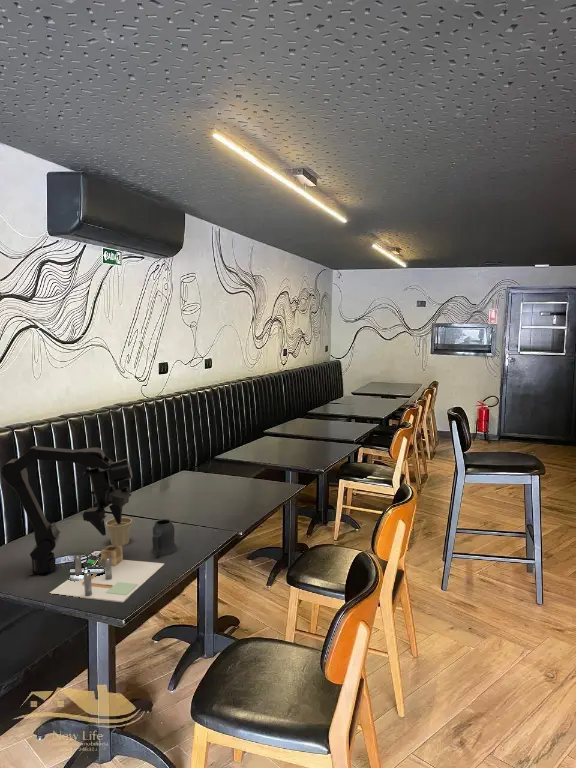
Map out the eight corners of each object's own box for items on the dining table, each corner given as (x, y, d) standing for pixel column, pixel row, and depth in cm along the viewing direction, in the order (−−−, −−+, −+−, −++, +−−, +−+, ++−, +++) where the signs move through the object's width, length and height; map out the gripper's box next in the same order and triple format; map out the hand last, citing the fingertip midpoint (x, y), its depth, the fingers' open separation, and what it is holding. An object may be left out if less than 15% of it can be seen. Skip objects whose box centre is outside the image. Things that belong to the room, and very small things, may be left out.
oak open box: (101, 565, 186) (100, 550, 186) (109, 559, 191) (109, 545, 191) (114, 566, 185) (114, 552, 185) (122, 560, 190) (122, 546, 189)
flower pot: (102, 544, 206) (101, 521, 205) (125, 537, 212) (124, 515, 211) (114, 551, 199) (113, 528, 198) (137, 543, 206) (136, 521, 205)
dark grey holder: (158, 546, 203) (156, 516, 202) (181, 547, 201) (180, 518, 200) (143, 559, 191) (141, 528, 190) (167, 561, 189) (166, 529, 188)
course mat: (49, 594, 167) (49, 592, 167) (99, 558, 193) (99, 556, 193) (123, 602, 161) (123, 600, 161) (164, 564, 187) (164, 563, 187)
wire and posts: (85, 596, 164) (84, 575, 163) (74, 574, 179) (73, 555, 178) (118, 588, 169) (117, 568, 168) (105, 567, 184) (104, 549, 183)
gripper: (106, 493, 173) (117, 540, 175) (136, 473, 190) (146, 516, 193) (76, 496, 176) (87, 542, 178) (109, 476, 194) (118, 518, 196)
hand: (111, 529), depth 186 cm, fingers open, 9 cm apart
